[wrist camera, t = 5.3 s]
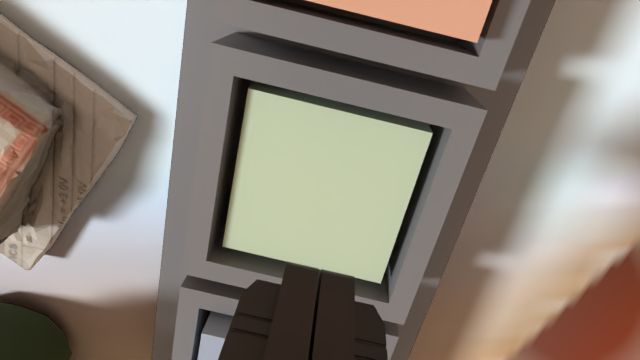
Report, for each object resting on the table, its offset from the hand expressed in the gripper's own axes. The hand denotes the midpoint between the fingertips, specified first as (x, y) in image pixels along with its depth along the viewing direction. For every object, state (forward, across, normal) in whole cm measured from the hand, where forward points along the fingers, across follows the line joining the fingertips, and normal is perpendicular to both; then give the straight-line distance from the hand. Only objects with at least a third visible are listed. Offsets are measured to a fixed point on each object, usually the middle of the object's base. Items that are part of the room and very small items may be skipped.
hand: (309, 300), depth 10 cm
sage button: (+8, 0, 0) cm, 8 cm away
